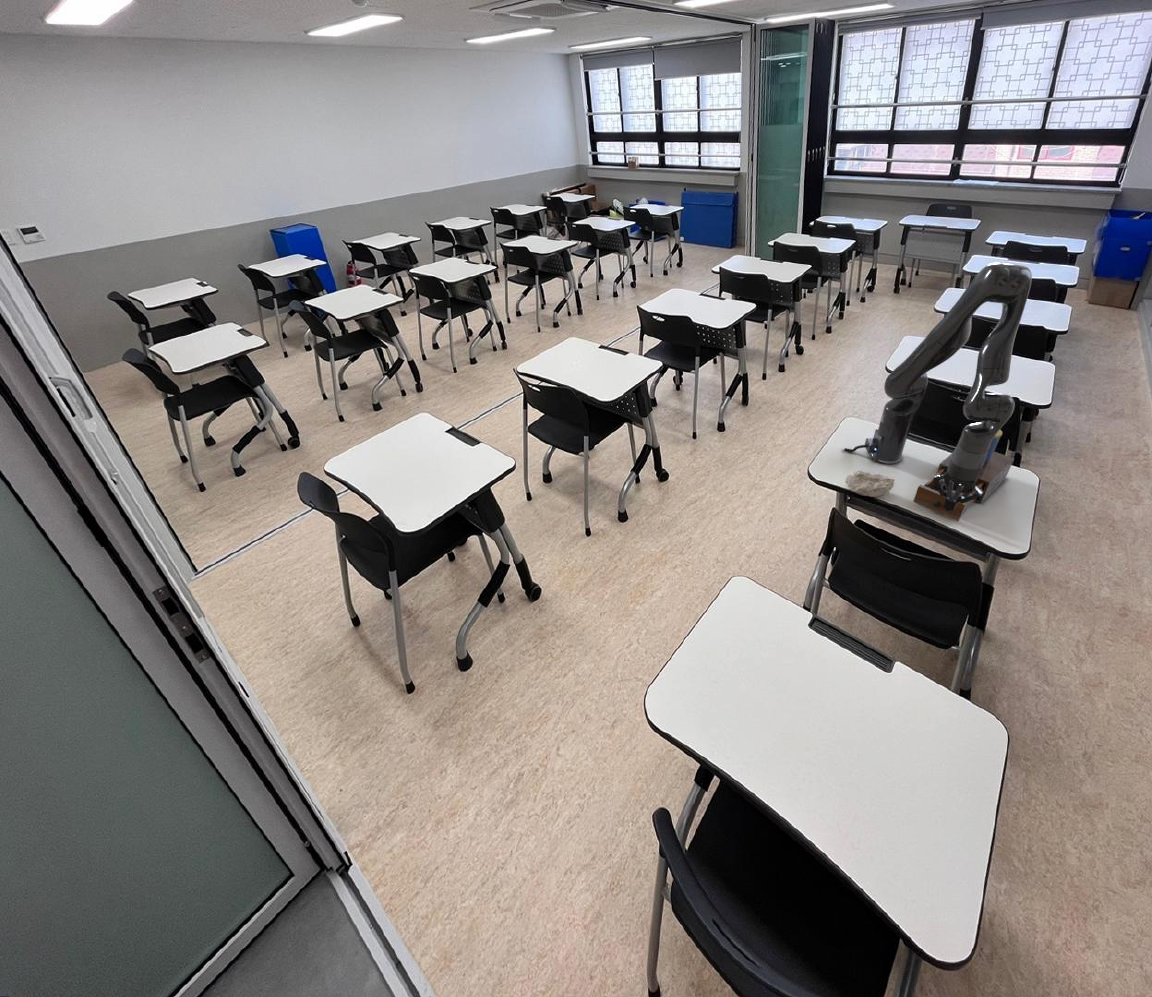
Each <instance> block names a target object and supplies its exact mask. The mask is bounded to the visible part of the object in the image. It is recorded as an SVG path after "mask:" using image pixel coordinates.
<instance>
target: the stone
mask: <svg viewBox="0 0 1152 997" xmlns="http://www.w3.org/2000/svg"><path fill="white" fill-rule="evenodd" d="M895 480H896V479H895V478H892V477H889V476H883V475H881V474H880V473H877V474H873V473H871V472H868V471H863V470H860V469H857V470H854V471H853V473H852V474H849V475H847V476H846V477H845V478H844V483H845V484H846V485H847V487H848V488H849V490H850V491H851V492H852V493H855V494H857V495H859V496H864V497H870V498H872V497H873V498H875V497H883V496H887V495H888V494H889V493H890V491H891V490H892V489H893V488H894V485H895Z"/></svg>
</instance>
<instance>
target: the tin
mask: <svg viewBox="0 0 1152 997" xmlns="http://www.w3.org/2000/svg"><path fill="white" fill-rule="evenodd" d="M1002 435H1003V431H1002V430H1001V429H1000V430H999V431H998V432H997V434H996V435H995V436H994V438H993V440H992V442H991V444H990V447H989V449H988V452H987V457H986V460H985V462H989V461H990V460H991V457H992V455H993V453H994V452H995V451H996V448H997V445H998V443H999V441H1000V439H1001V437H1002Z"/></svg>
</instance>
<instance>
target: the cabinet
mask: <svg viewBox="0 0 1152 997" xmlns="http://www.w3.org/2000/svg"><path fill="white" fill-rule="evenodd" d="M953 453H954V451H953V452H951V453H950V454H949V455H948V456H947V457H946V458H945V459H943V460H942V461H941V462H940V463H939V465H938V467H937V470H936V473H935V475H936V474H937V473H938V472H939V471H940V470H941V469H943V468H947V469H948V466H949V463H950V461H951V458H952V454H953ZM1014 462H1015V458H1014V457H1011V456H1008V455H1006V454H1003V453H999V452H997V451H994V453H993V455H992V457H991V460H990V461H989V462H984V464H983V467H982V469H981V472H980V474H979V476H978V479H977V480H978V481H981V482H984V483H986V484H985V487H984V489H983V492H984V493H983V494H982V495H981V496H980V497H978V498H977V499H976V500H975V501H974V502H977V503H979V504H982V503H983V502H984V501H985V500H986V499H987V498H988V497H989V496H990V495H991V494H992V493H993V492H994V491H995V490H996V489H997V488H998V487H999V486H1000V485H1001V484H1002V483H1003V482H1004V481H1005V480H1006V478H1007V476H1008V474H1009V472H1010V469H1011V467H1012V465H1013V463H1014Z"/></svg>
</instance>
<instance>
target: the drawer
mask: <svg viewBox="0 0 1152 997" xmlns="http://www.w3.org/2000/svg"><path fill="white" fill-rule="evenodd" d="M946 471H947V468H943V469H941V470H940V471H939V472H938V473H937V472H936V473H937V474H936V473H935V474H934V475H933V476H932V477H931V478H929V480H927V481H926V482H925V483H924V484H919V485H918V486H917V490H916V492H915V495H914V497H913V503H914V504H917V505H919V506H921V507H924V508H926V509H929V510H931V511H934V512H936V513H937V514H940V515H942V516H944V517H946V518H949V519H952V520H954V521H956V522H959V521H960V520H961V518H962V517H963V513H964V512H966V510H967V509H969V507H971V506H972V504H974V503H975V502H976V501H975V500H976V499H977V498H976V499H973V500H971V501H968V502H965V503H963V504H961V503H960V502H958V504H957V506H956V508H955V509H954V510H953V511H950V512H949V511H947V510H945V508H944V506H943V505H944V503H945V500H946V497H945V496H941V495H940V493H939V491H938V489H937V487H936V484H935V482H934V480H933V478H934V477H935V476H936V475H938V474H941V475H943V474H944V473H945V472H946ZM944 482H945V480H944ZM945 484H946V483H945ZM985 484H986V483H984V482H981V481H978V480H977V487H978V489H979V490H983V489H984V487H985ZM946 486H947V485H946ZM947 489H948V487H947ZM972 491H973V489H972V490H970V491H967V492H965V493H963V494H962V497H964V496H966V495H968V494H971V492H972ZM955 492H956V491H955ZM953 497H954V496H953Z"/></svg>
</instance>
